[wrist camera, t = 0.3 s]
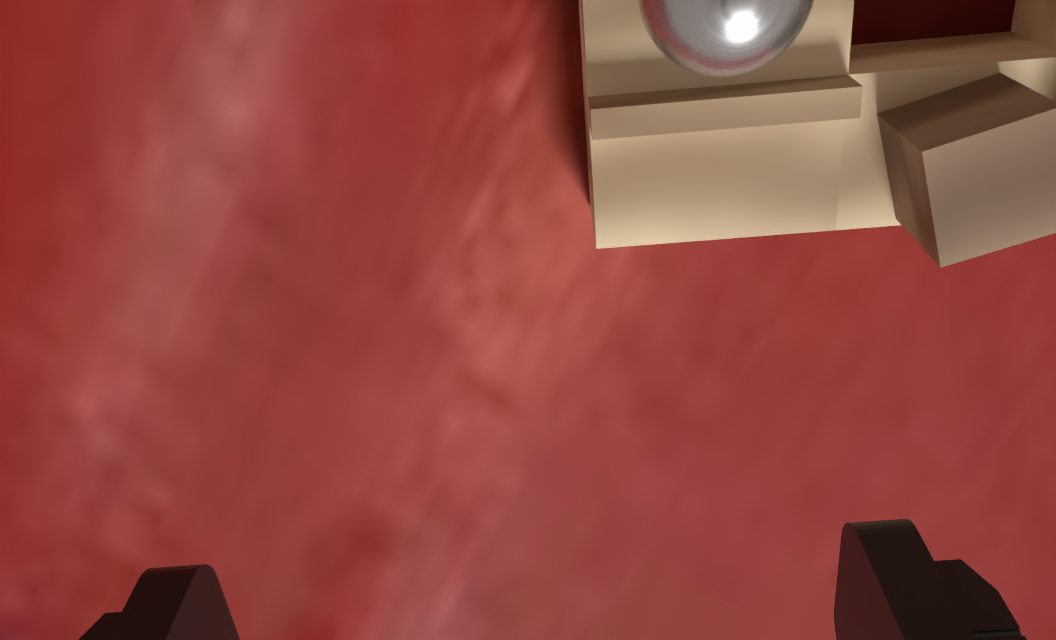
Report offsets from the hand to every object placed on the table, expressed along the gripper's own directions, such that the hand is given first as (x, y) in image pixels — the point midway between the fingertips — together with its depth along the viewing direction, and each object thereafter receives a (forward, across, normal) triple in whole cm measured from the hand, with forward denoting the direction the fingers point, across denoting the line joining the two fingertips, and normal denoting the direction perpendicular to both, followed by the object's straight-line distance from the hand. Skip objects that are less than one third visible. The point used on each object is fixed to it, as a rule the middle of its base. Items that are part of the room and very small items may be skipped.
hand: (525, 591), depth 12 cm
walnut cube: (+21, -14, +3) cm, 25 cm away
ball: (+19, -6, -4) cm, 20 cm away
